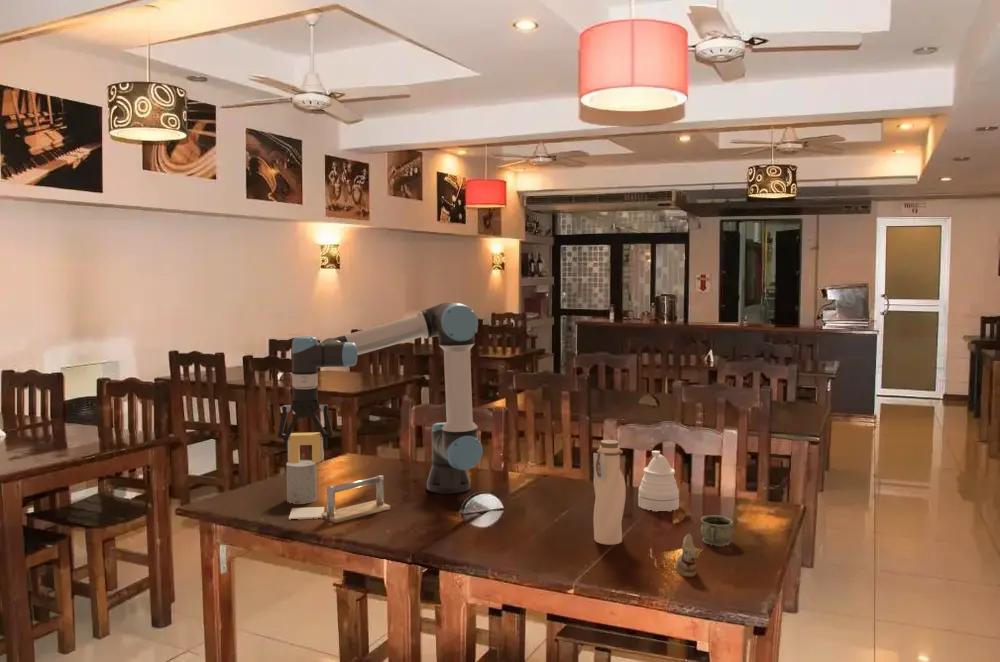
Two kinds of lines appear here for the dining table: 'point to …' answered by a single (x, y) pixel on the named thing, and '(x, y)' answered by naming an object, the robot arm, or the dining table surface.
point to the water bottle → (608, 493)
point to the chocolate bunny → (687, 558)
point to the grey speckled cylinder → (301, 482)
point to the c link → (305, 439)
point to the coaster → (306, 513)
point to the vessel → (716, 530)
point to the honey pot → (658, 486)
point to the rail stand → (357, 509)
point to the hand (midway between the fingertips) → (305, 459)
